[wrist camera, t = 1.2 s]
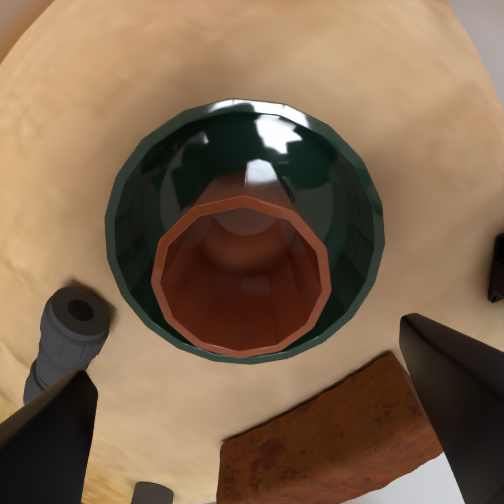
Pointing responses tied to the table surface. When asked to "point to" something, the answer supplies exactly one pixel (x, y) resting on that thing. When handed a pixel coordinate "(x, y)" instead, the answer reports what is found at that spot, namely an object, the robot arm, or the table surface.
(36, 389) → the flashlight
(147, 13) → the table surface
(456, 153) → the table surface
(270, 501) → the brick
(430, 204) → the table surface
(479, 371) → the robot arm
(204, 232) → the small pot
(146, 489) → the bottle
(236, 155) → the planter
